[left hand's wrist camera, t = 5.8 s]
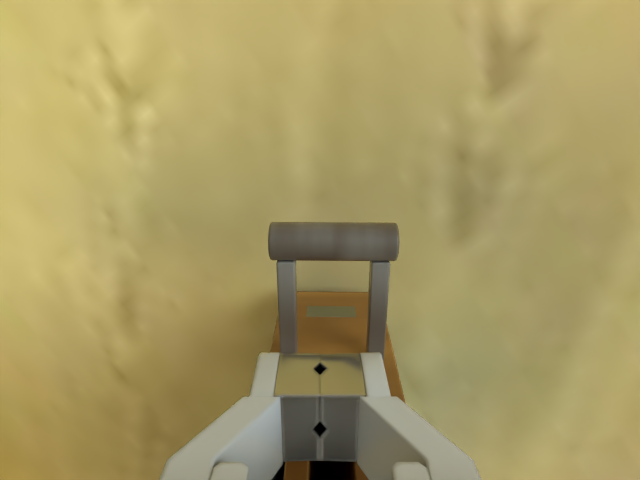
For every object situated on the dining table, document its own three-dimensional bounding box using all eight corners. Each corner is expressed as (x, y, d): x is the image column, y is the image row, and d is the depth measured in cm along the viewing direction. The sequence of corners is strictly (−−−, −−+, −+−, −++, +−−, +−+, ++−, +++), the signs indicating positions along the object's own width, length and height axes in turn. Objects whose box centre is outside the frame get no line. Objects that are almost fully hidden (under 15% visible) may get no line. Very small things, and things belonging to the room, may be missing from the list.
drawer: (279, 186, 18) (242, 268, 10) (385, 187, 18) (428, 270, 10) (291, 548, 26) (275, 751, 19) (364, 550, 26) (381, 753, 18)
